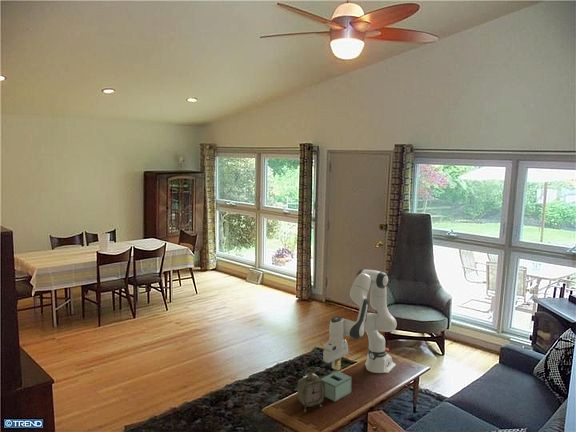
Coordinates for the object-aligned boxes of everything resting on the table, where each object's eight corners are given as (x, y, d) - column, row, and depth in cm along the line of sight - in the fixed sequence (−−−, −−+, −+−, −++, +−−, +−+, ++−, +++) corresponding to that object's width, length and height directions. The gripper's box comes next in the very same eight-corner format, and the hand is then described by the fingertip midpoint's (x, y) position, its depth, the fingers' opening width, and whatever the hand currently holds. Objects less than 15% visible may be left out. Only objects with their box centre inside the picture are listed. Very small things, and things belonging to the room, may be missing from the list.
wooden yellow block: (334, 366, 282) (334, 357, 281) (340, 369, 278) (340, 359, 278) (331, 367, 280) (331, 358, 280) (338, 370, 277) (338, 361, 276)
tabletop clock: (303, 414, 258) (303, 372, 255) (295, 407, 266) (295, 366, 263) (324, 407, 265) (325, 367, 262) (316, 400, 273) (316, 361, 270)
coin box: (336, 385, 291) (336, 370, 290) (351, 392, 283) (351, 377, 282) (319, 394, 280) (320, 379, 279) (334, 401, 272) (334, 386, 271)
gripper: (343, 337, 287) (342, 358, 289) (321, 346, 273) (321, 368, 275) (351, 340, 282) (350, 361, 284) (329, 349, 268) (329, 371, 270)
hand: (336, 364), depth 279 cm, fingers closed on wooden yellow block, 2 cm apart
